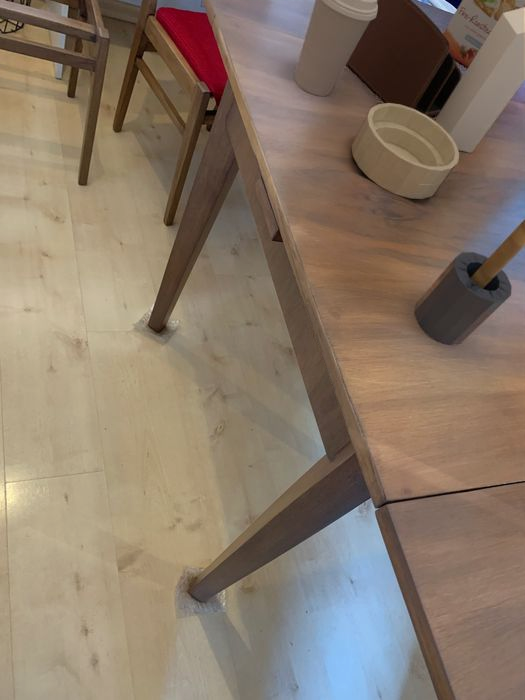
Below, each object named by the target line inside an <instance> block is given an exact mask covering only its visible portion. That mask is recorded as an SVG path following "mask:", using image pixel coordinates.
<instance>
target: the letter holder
mask: <svg viewBox="0 0 525 700" xmlns="http://www.w3.org/2000/svg"><path fill="white" fill-rule="evenodd" d="M377 5H378V11H377V16H376V18H375V19H373V20H371V21H370V22H369V24H368V26H367V28H366V29H365V31H364V33H363V35H362V37H361V38H360V40H359V42H358V44H357V46H356V47H355V49H354V51H353V53H352V55H351V56H350V58H349V60H348V62H347V64H346V65H347V67H349V68H350V69H351V70H352V71H353V72H354V73H355V74H356V75H357V77H359V78H360V79H361V80H362V82H364V83H365V84H366V86H368V88H370V89H371V90H372V91H373V93H375V94H376V96H378V98H380V99H381V100H382V101H383V103H393V104H400V105H404V106H407V107H410V108H413V109H415V110H417V111H419V112H421V113H423V114H425V115H427V116H428V117H430V118H431V117H435V116H436V117H437V116H438V115H439V113H440V112H441V110H442V108H443V107H444V105H445V104H446V102H447V101H448V99H449V97H450V96H451V94H452V93H453V91H454V90H455V88H456V86H457V85H458V83H459V82H460V80H461V78H462V77H463V73H462V71H461V69H460V67H459V66H458V64H457V63H456V59H455V58H453V56H452V55H451V53H450V52H449V49H450V44H449V41H448V40H447V38H446V37H445V36H444V35H443V33H444V32H442V31H441V29H440V28H439V27H438V26H437V24H435V23H434V21H433V20H432V19H431V18H430V17H429V15H428V14H426V13H425V12H424V10H422V9H421V8H420V7H419V6H418V5H417V4H416V3H415V2H414V1H413V0H378V1H377Z"/></svg>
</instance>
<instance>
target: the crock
mask: <svg viewBox="0 0 525 700" xmlns="http://www.w3.org/2000/svg"><path fill="white" fill-rule="evenodd" d="M488 258H489V257H487V256H486V255H484V254H480V253H477V252H474V251H465V252H464V251H463V252H461V253H459V254H458V255H456V256H455V258H454V259H452V261H451V262H450V263H449V264H448V266H447V267H446V268H445V269H444V270H443V271H442V273H440V275H439V276H438V277H437V278H436V279H435V281H434V282H433V283H432V284H431V286H430V287H429V288H428V289H427V290H426V291H425V292H424V293H423V295H421V296H420V298H419V299H418V301H416V303H415V307H414V316H415V320H416V321H417V324H418V325H419V327H420V329H422V331H423V332H424V333H425V334H426V335H427V336H428V337H430V338H431V339H433V340H434V341H436V342H438V343H441V344H444V345H447V346H448V345H449V346H455V345H460V344H462V343H463V342H464V341H465V340H466V339H467V338H468V337H469V336H470V335H471V334H472V333H474V332H475V330H477V328H479V326H481V325H482V324H483V323H484V322H485V321H486V320H487V319H488V318H489V317H490V316H492V314H493V313H494V312H495V311H497V310H498V309H499V308H500V307H501V306H502V305H503V304H504V303H505V302H506V301H507V300H508V299H509V298H510V297H511V296H512V284H511V281H510V280H509V277H508V274H507V273H505V271H504V270H503V269H502V270H501V271H500V272H499V273H498V274H497V275H496V276H495V277H494V278H493V279H492V280H491V281H490V282H489V283H488V284H487V285H486V286H485V287H484V288H483V289H482V288H480V287H479V286H477V285H476V284H475V283H474V282H473V281H472V280H471V279H470V278H471V276H472V275H473V274H474V273H475V272H476V271H477V270H478V269H479V268H480V267H481V266H482V265H483V264H484V262H485V261H486V260H487V259H488Z"/></svg>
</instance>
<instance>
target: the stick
mask: <svg viewBox="0 0 525 700" xmlns="http://www.w3.org/2000/svg"><path fill="white" fill-rule="evenodd" d="M524 248H525V218H524V219H523V220H522V221H521V222H520V224H519V225H517V227H516V228H515V229H514V230H513V231H512V232H511V233H510V234H509V235H508V236H507V237H506V238H505V239H504V241H503V242H502V243H501V244H500V245H499V246H498V247H497V248H496V249H495V250H494V252H493V253H492V254H491V255H490V256H489V257H487V258H488V259H487V260H486V261H485V262H484V264H483V265H482V266H481V267H480V268H479V269H478V270H477V271H476V272H475V273H474V274H473V275H472V276H471V278H470V279H471V280H472V281H473V282H474V283H475V284H476V285H477V286H479V287H480V288H482V289H483V288H484V287H485V286H486V285H487V284H488V283H489V282H490V281H491V280H492V279H493V278H494V277H495V276H496V275H497V274H498V273H499V272H500V271H501V270H503V269H505V267H506V266H507V264H509V263H510V262H511V261H512V260H513V258H514V257H516V256H517V254H519V252H520V251H522V249H524Z"/></svg>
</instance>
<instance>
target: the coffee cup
mask: <svg viewBox="0 0 525 700" xmlns="http://www.w3.org/2000/svg"><path fill="white" fill-rule="evenodd" d="M377 1H378V0H315V2H314V5H313V8H312V12H311V15H310V20H309V22H308V26H307V30H306V33H305V37H304V40H303V42H302V43H303V44H302V47H301V50H300V54H299V57H298V61H297V64H296V67H295V71H294V75H293V80H294V81H295V83H296V84H297V86H298V87H300V89H302V90H303V91H305V92H307V93H309V94H311V95H314V96H317V97H326V96H329V95H330V94H332V93H331V92H332V91H333V90H334V88H335V85H336V84H337V82H338V80H339V78H340V76H341V74H342V73H343V71H344V69H345V67H346V65H347V62H348V60H349V58H350V56H351V55H352V53H353V51H354V49H355V47H356V46H357V44H358V42H359V40H360V38H361V37H362V35H363V33H364V31H365V29H366V28H367V26H368V24H369V22H370V21H371V20H373V19H375V18H376V16H377V11H378V5H377Z"/></svg>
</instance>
